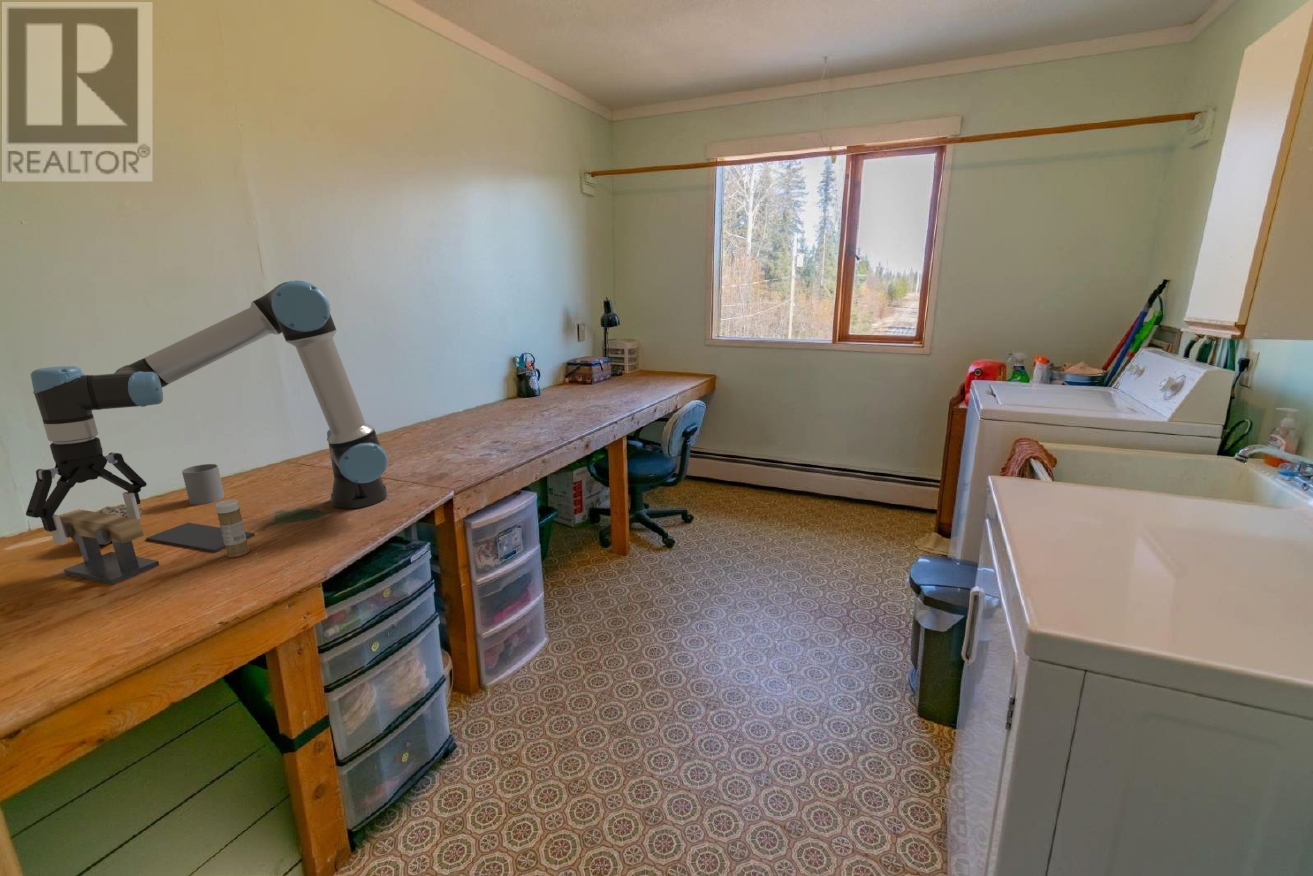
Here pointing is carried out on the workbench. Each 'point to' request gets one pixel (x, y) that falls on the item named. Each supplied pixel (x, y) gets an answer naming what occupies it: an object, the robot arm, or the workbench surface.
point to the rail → (103, 525)
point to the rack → (106, 559)
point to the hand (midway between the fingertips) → (99, 530)
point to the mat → (194, 537)
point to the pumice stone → (115, 510)
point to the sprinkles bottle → (232, 528)
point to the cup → (203, 484)
